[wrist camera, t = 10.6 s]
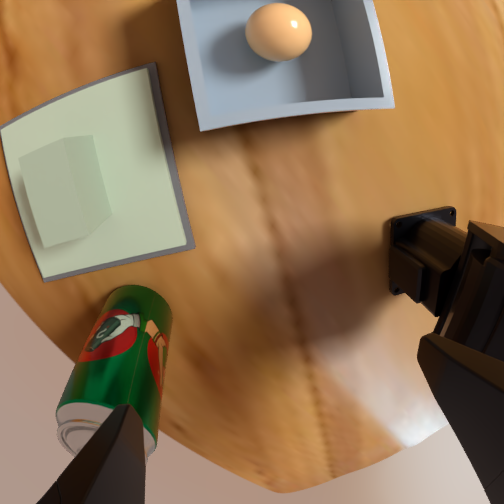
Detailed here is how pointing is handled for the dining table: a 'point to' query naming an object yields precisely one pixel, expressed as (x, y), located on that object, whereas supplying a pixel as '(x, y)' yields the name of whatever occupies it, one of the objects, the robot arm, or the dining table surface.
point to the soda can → (118, 368)
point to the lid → (94, 177)
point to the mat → (170, 161)
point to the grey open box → (282, 59)
